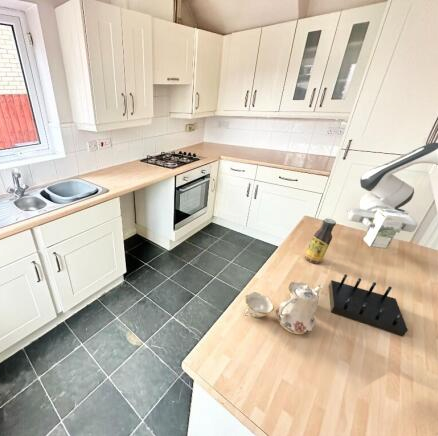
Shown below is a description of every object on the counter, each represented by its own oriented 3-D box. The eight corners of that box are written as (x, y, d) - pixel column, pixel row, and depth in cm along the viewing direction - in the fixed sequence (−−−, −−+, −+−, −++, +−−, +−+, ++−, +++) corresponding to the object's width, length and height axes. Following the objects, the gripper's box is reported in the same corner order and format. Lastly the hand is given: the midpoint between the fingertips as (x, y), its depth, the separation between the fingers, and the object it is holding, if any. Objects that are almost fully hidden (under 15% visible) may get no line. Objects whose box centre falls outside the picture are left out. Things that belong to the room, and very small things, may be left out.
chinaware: (295, 291, 91) (303, 253, 85) (341, 322, 77) (356, 280, 70) (234, 313, 83) (239, 273, 76) (273, 354, 68) (283, 309, 62)
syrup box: (379, 241, 98) (396, 209, 91) (387, 249, 93) (405, 216, 86) (362, 239, 99) (377, 207, 92) (369, 247, 94) (386, 214, 87)
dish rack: (391, 304, 83) (402, 288, 79) (403, 336, 73) (416, 320, 69) (328, 286, 91) (335, 270, 88) (330, 312, 81) (339, 296, 77)
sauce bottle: (301, 257, 106) (315, 217, 97) (311, 254, 108) (326, 215, 99) (314, 266, 101) (331, 225, 92) (325, 262, 103) (342, 222, 93)
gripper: (349, 201, 105) (353, 214, 95) (413, 211, 96) (425, 227, 85) (343, 214, 108) (347, 228, 98) (405, 225, 99) (416, 242, 88)
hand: (384, 228), depth 91 cm, fingers closed on syrup box, 6 cm apart
